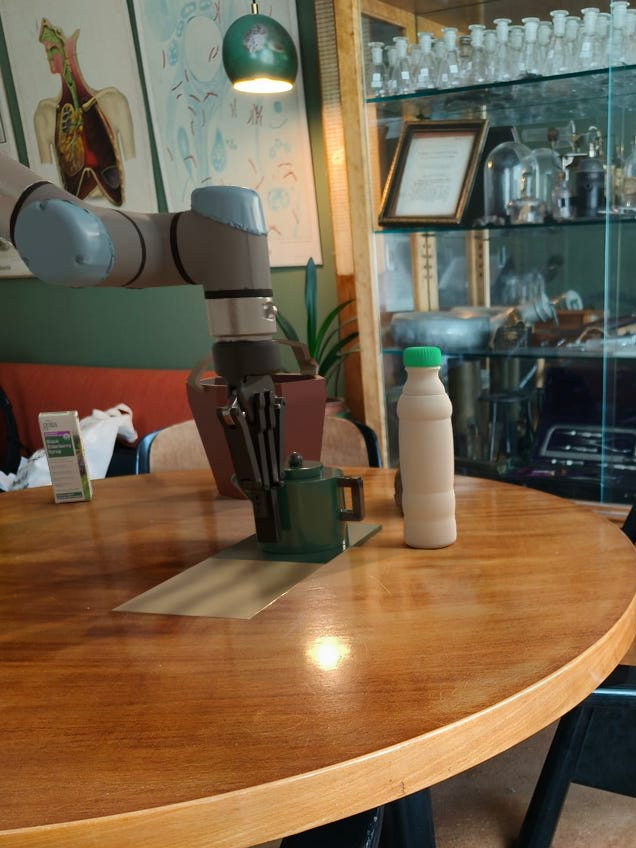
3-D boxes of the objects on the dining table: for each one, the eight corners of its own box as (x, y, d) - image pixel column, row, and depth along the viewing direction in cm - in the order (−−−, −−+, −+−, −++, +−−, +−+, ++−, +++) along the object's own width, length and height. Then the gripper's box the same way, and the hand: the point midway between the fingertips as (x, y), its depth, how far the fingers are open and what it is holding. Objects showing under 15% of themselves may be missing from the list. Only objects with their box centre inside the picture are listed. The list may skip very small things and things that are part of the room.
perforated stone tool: (398, 497, 145) (396, 455, 143) (430, 496, 146) (428, 454, 143) (392, 519, 131) (389, 472, 129) (428, 518, 132) (425, 471, 129)
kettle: (216, 550, 115) (204, 458, 110) (261, 527, 125) (251, 443, 121) (347, 557, 110) (340, 462, 106) (382, 533, 121) (376, 446, 116)
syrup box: (54, 504, 147) (36, 415, 142) (57, 497, 152) (40, 411, 147) (91, 500, 149) (75, 412, 144) (93, 494, 154) (77, 409, 149)
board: (111, 617, 94) (110, 610, 93) (279, 525, 130) (279, 520, 129) (249, 626, 90) (248, 619, 90) (382, 529, 126) (382, 524, 126)
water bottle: (394, 547, 117) (382, 348, 108) (420, 534, 123) (411, 345, 114) (441, 552, 114) (433, 349, 105) (465, 538, 120) (459, 345, 111)
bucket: (315, 471, 169) (302, 333, 160) (362, 491, 151) (351, 337, 142) (185, 487, 157) (164, 340, 148) (220, 510, 140) (198, 344, 130)
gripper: (246, 340, 94) (273, 555, 102) (299, 336, 105) (319, 529, 113) (184, 342, 95) (215, 554, 104) (242, 338, 107) (266, 528, 115)
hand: (269, 541), depth 108 cm, fingers closed
